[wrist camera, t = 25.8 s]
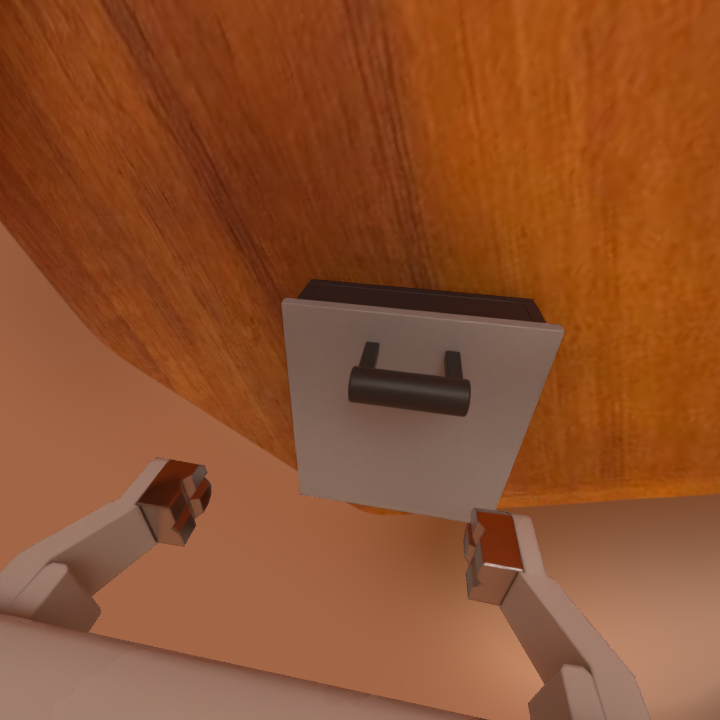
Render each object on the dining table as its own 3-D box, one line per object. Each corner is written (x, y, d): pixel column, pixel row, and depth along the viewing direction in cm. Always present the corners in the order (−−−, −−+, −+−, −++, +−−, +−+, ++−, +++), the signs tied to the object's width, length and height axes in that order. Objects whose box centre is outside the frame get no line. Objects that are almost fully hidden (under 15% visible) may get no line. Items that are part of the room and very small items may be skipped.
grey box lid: (285, 297, 19) (246, 343, 15) (561, 323, 17) (599, 384, 13) (302, 486, 27) (280, 548, 23) (488, 517, 25) (498, 588, 21)
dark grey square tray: (311, 278, 23) (286, 311, 19) (533, 298, 21) (555, 338, 17) (319, 440, 31) (302, 486, 27) (480, 464, 29) (488, 516, 25)
